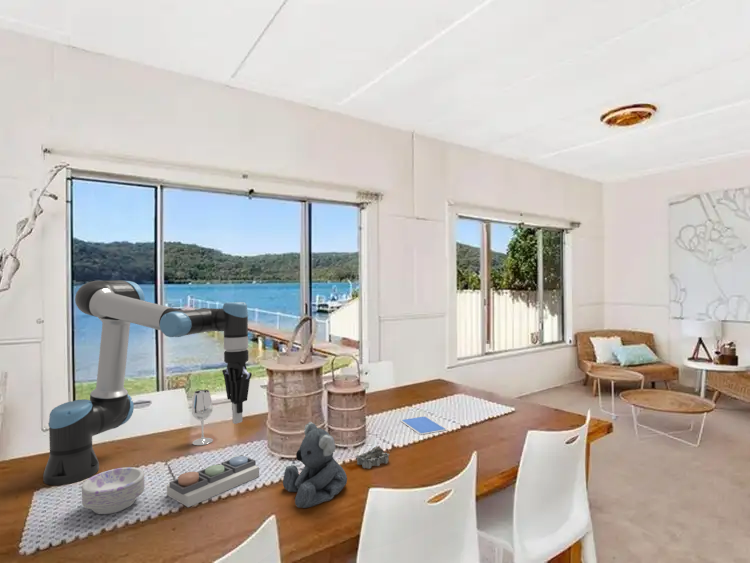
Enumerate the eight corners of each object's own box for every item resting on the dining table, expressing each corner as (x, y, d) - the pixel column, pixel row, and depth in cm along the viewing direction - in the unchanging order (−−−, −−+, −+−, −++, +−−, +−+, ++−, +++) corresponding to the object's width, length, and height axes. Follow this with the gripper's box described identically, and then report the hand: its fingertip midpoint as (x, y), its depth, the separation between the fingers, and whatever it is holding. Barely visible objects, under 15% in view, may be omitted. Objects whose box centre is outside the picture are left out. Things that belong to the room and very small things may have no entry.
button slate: (236, 470, 138) (236, 464, 138) (226, 465, 141) (225, 460, 141) (251, 464, 142) (251, 458, 142) (240, 460, 146) (240, 454, 146)
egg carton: (380, 456, 156) (380, 444, 156) (392, 463, 149) (391, 451, 149) (354, 463, 150) (354, 451, 150) (364, 470, 144) (364, 458, 144)
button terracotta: (184, 488, 124) (184, 481, 124) (174, 482, 128) (174, 476, 128) (202, 480, 129) (202, 474, 129) (192, 476, 132) (192, 470, 132)
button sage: (211, 480, 131) (211, 474, 131) (201, 475, 134) (201, 469, 134) (228, 473, 135) (227, 467, 135) (217, 468, 139) (217, 463, 139)
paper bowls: (99, 526, 113) (99, 495, 113) (71, 511, 121) (71, 482, 121) (155, 500, 126) (155, 473, 126) (127, 488, 134) (126, 462, 134)
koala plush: (280, 487, 133) (278, 423, 133) (334, 473, 142) (333, 413, 142) (299, 513, 118) (298, 440, 118) (358, 496, 126) (357, 428, 126)
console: (187, 507, 122) (186, 491, 122) (166, 495, 129) (165, 480, 129) (259, 475, 141) (259, 462, 141) (238, 466, 148) (237, 453, 148)
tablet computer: (447, 432, 180) (447, 428, 180) (420, 436, 175) (420, 433, 175) (425, 418, 198) (425, 415, 198) (400, 422, 193) (400, 419, 193)
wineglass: (208, 445, 169) (207, 393, 169) (188, 445, 169) (187, 394, 169) (216, 438, 176) (215, 388, 176) (197, 438, 177) (196, 389, 177)
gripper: (258, 349, 141) (259, 423, 141) (234, 346, 149) (235, 415, 149) (238, 353, 135) (239, 429, 135) (214, 349, 143) (215, 421, 143)
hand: (237, 422), depth 142 cm, fingers closed
